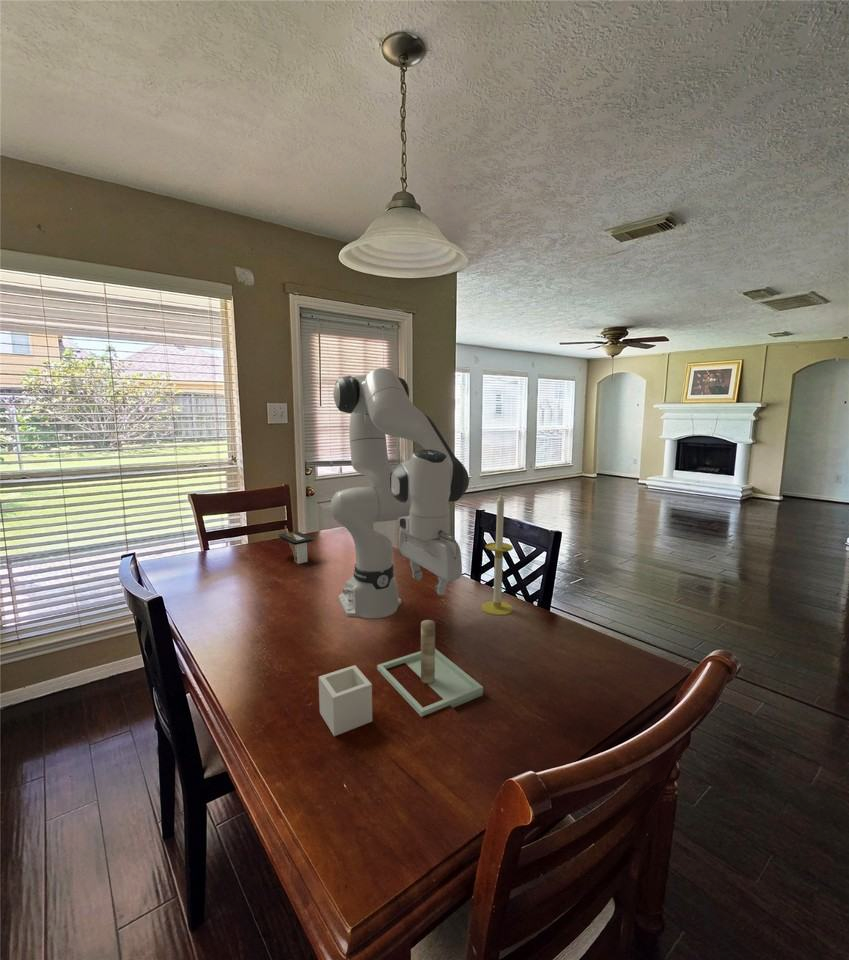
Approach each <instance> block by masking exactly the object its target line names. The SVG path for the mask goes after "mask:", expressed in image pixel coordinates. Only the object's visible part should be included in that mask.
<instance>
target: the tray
mask: <svg viewBox="0 0 849 960" xmlns="http://www.w3.org/2000/svg"><path fill="white" fill-rule="evenodd" d="M402 664H406V665H407V666H408V667H409V668H410V669H411V670H412V671H413V672H414V673H415V674H416V675H417V676H418V677H419V678H420V679H421V650H420V651H417V652H414V653H409V654H407V655H404V656H402V657H401V656H400V657H398V658H395V659H392V660H389V661H386V662H383V663H379V664H377V665H376V670H377V671H378V672H379V673H380V674H381V676H383V677H384V678H385V679H386V681H388V683H389V684H390V685H392V687H393V689H395V690H396V691H397V692H398V694H400V696H401V697H402V698H403V699H404V700H405V701H406V702H407V703H408V704H409V706H410V707H412V708H413V710H414V711H416V713H417V714H418V715H419V716H420V717H421V718H422V717H425V716H426V715H429V714H432V713H434V712H437V711H439V710H441V709H443V708H447V707H451V709H453V708H457V707H458V706H460V705H463V704H465V703H467V702H470V701H472V700H475V699H478V698H479V697H483V696H484V687H483V685H481V684H480V683H479V682H478V681H477V680H475V679H474V678H472V677H471V676H470V675H469V674H467V673H466V672H465V671H464V670H463V669H462V668H461V667H459V666H458V665H457V664H455V663H454V662H453V661H451V660H450V659H449V658H448V657H446V656H445V655H444V654H442V652H440V651H439V650H437V648H435V681H434V683H432V684H427V685H428V686H429V687H430V688H431V689H432V690H433V691H434V692H435V693H436V694H437V695H438V696H439V697H440V698H442V699H441V700H438V701H436V702H433V703H432V704H429V705H426V706H424V707H423V706H422V704H420V703H419V702H418V701H417V700H416V699H415V698H414V697H413V696H412V695H411V693H409V691H408V690H406V688H405V687H404V686H403V685H402V684H401V683H400V682H399V681H398V680H397V679H396V678H395V677H394V676H393V674H391V673H390V672H389V671H388V670H387V669H390V668H393V667H396V666H399V665H402Z"/></svg>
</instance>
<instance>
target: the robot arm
mask: <svg viewBox="0 0 849 960" xmlns="http://www.w3.org/2000/svg"><path fill="white" fill-rule="evenodd" d="M409 389H410V388H409V385H408V383H407V382H406V380H405V379H404V378H402V377H398V376H397V375H396V373H395V372H394V371H393V370H391V369H389V368H386V367H377V368H375V369H373V370H371V371H370V372H369V373H368V374H367V375H366V374H365V375H353V376H352V375H344V376H341V377H339V378H338V379H337V380H336V381H335V384H334V389H333V393H332V394H333V400H334V403H335V406H336V409H338V411H340V412H342V413H345V414H350V419H349V447H350V459H351V466H352V468H353V470H354V471H355V472H357V473H358V474H360V475H362V476H365V477H367V478H368V479H369V480H370V482H371V486H359V487H349V488H346V489H342V490H339V491H336V492H335V493H334V494H333V496H332V498H331V501H330V507H329V508H330V512H331V516H332V518H333V519H334V520H335V521H336V522H337V523H338V524H340V525H341V526H343V527H344V528H345V529H346V530H347V531H348V532H349V534H350V535H351V537H352V539H353V544H354V547H355V548H354V549H355V561H356V562H355V563H354V565H355V566H354V567H353V568H354V569H353V576H351V577H350V578H349V579H348V580H346V581H345V587H343V588H342V592H341V593H340V594H339V595H338V598H337V599H338V600H339V602H340V605H341V608H342V609H343V611H344V613H345V615H346V617H357V618H358V617H359V618H364V619H381V618H385V617H389V616H391V615H393V614H395V613H396V612H397V610H398V608H399V606H400V605H401V604H402V603H403V602H402V599H401V598H400V597H399V592H398V581H397V579H396V578H395V577H394V576H395V575H394V572H395V569H394V564H393V544H392V541H391V539H390V537H389V536H387V535H385V534H384V533H382V532H380V531H377V530H375V529H374V524H375V523H381V522H392V521H397V525H398V527H399V531H398V536H399V537H398V543H399V544H398V545H399V546H398V547H399V552H400V553H401V555H402V556H404V557H406V558H407V559H408V560H409V565H410V568H411V571H412V578H413V579H414V580H416V581H418V580H419V581H420V580H422V579H423V571H422V570H421V567H422V568H423V569H426V570H427V571H429V572H430V573H431V574H434V575H435V576H437V581H438V583H437V584H436V585H434V589H435V590H434V592H435V594H437V595H438V596H443V595H445V594H446V591H447V590H446V589H447V587H448V584H449V582H451V581H456V580H458V579H460V578H461V577H462V575H463V568H462V567H463V563H462V561H463V560H462V552H461V548H460V545H459V543H458V542H457V540H456V538H455V536H453V535H452V534H450V528H451V527H450V525H451V524H450V523H451V522H450V521H451V520H450V519H451V509H450V505H449V502H457V501H459V500H460V499H461V498H462V497H463V496H464V494H465V493H466V492H467V490H468V488H469V485H470V479H469V474H468V471H467V469H466V467H465V466H464V464H463V463H462V462H461V461H460V460H459V458H458V457H457V456H456V455H455V454H454V453H453V451H452V450H451V447H450V446H449V444H448V443H447V442H446V440H445V438H444V437H443V436H442V434H441V432H440V431H439V429H438V427H437V426H436V425H435V422H434V421H433V419H431V417H430V416H428V415H427V414H425V413H423V412H422V411H421V410H420V409H419V408H417V406H415V404H414V403H413V402H412V401H411V400H410V390H409ZM386 435H388V436H391V437H396V438H400V439H406V440H409V441H411V442H415V443H417V444H418V445H420V446H421V447H422V448H423V449H419V450H416V451H415V452H413V453H412V454H411V458H410V459H408V460H407V461H403V462H399V463H397V464H396V465H395V466H394V467H393V469H392V467H391V465H390V460H389V455H388V445H387V436H386Z"/></svg>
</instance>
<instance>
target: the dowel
mask: <svg viewBox="0 0 849 960" xmlns="http://www.w3.org/2000/svg"><path fill="white" fill-rule="evenodd" d="M435 649H436V622H435V621H434V620H431V619H424V620H422V621H421V622H420V651H421V678H420V682H422V683H423V684H425V685H428V684H432V683H434V681H435Z"/></svg>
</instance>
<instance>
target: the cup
mask: <svg viewBox="0 0 849 960" xmlns="http://www.w3.org/2000/svg"><path fill="white" fill-rule="evenodd" d="M318 694H319V695H318V700H319V702H318V703H319V714H320V716H321V717H322V719H323V720H324V722H325V724H326V725H327V727H328V728H329V730H330V732H331V733H332V736H333V737H336V736H338V735H341V734H344V733H346V732H349V731H351V730H354V729H357V728H358V727H362V726H364V725H366V724H369V723H372V722H373V684H372V682H371V681H370V680H369V679H368V678H367V677H366V676H365V675H364V674H363V672H362V671H361V670H360V669H359V667H357V665H355V664H354V665H350V666H347V667H345V668H341V669H338V670H335V671H333V672H332V671H331V672H329V673H326V674H323V675H320V676H318Z"/></svg>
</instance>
